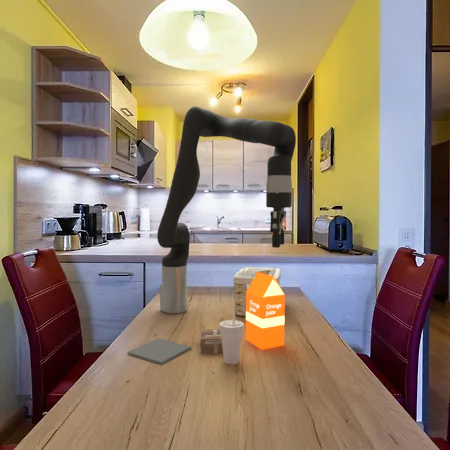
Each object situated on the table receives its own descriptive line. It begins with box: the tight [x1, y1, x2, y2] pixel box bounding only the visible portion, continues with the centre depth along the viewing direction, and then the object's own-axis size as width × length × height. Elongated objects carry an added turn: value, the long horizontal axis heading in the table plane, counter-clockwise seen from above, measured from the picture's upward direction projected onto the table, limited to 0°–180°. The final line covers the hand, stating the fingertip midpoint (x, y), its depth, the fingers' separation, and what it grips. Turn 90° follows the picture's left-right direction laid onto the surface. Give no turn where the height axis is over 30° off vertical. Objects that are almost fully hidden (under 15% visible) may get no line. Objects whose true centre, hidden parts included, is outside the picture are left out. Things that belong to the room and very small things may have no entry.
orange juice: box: [245, 272, 286, 351], centre depth 105 cm, size 8×9×20 cm
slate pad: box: [127, 337, 192, 365], centre depth 98 cm, size 12×12×1 cm
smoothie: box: [218, 306, 245, 365], centre depth 92 cm, size 6×6×14 cm
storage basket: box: [233, 266, 282, 317], centre depth 140 cm, size 24×16×15 cm
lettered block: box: [200, 328, 223, 355], centre depth 101 cm, size 8×8×4 cm
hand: (278, 245), depth 109 cm, fingers open, 8 cm apart
